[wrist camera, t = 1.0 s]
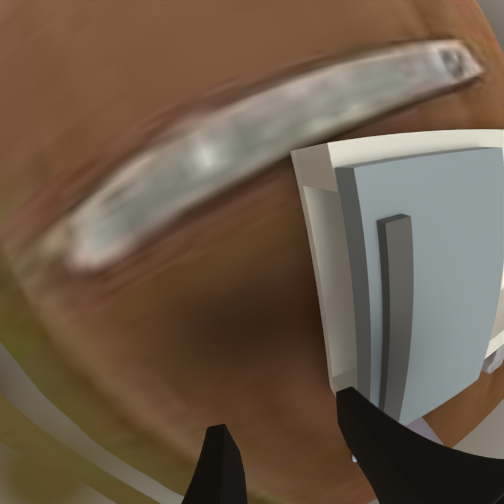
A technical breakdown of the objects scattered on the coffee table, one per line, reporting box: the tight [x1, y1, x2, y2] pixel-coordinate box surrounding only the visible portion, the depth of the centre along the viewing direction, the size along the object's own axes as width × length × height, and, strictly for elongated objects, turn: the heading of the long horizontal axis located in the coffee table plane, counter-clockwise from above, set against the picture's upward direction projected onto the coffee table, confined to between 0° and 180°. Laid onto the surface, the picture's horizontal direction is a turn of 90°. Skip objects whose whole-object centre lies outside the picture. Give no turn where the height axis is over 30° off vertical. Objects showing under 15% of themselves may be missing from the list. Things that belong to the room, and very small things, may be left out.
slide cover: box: [335, 147, 504, 426], centre depth 12 cm, size 16×10×2 cm, turn 13°
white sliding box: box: [290, 129, 504, 397], centre depth 16 cm, size 18×24×6 cm
